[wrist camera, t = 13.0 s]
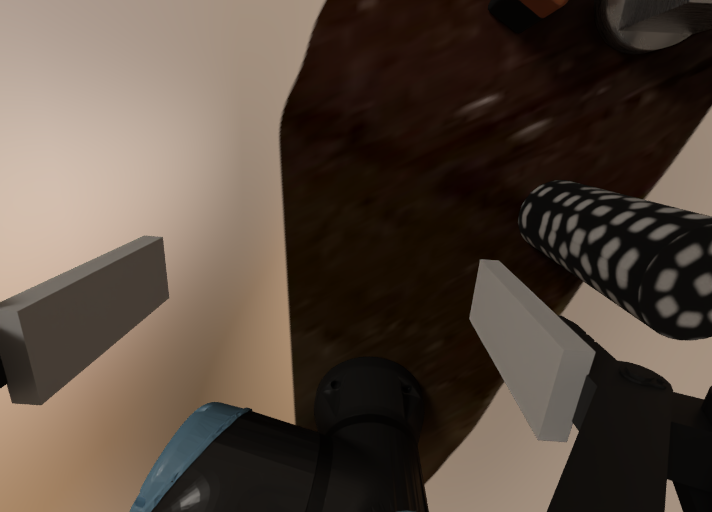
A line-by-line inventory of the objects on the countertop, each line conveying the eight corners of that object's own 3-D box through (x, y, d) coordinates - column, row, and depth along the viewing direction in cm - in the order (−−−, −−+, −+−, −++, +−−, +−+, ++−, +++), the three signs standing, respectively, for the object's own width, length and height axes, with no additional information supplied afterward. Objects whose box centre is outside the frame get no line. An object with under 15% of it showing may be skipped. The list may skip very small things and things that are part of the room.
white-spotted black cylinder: (504, 210, 43) (615, 275, 24) (569, 164, 41) (746, 194, 22) (541, 263, 44) (670, 361, 26) (604, 221, 43) (794, 294, 24)
